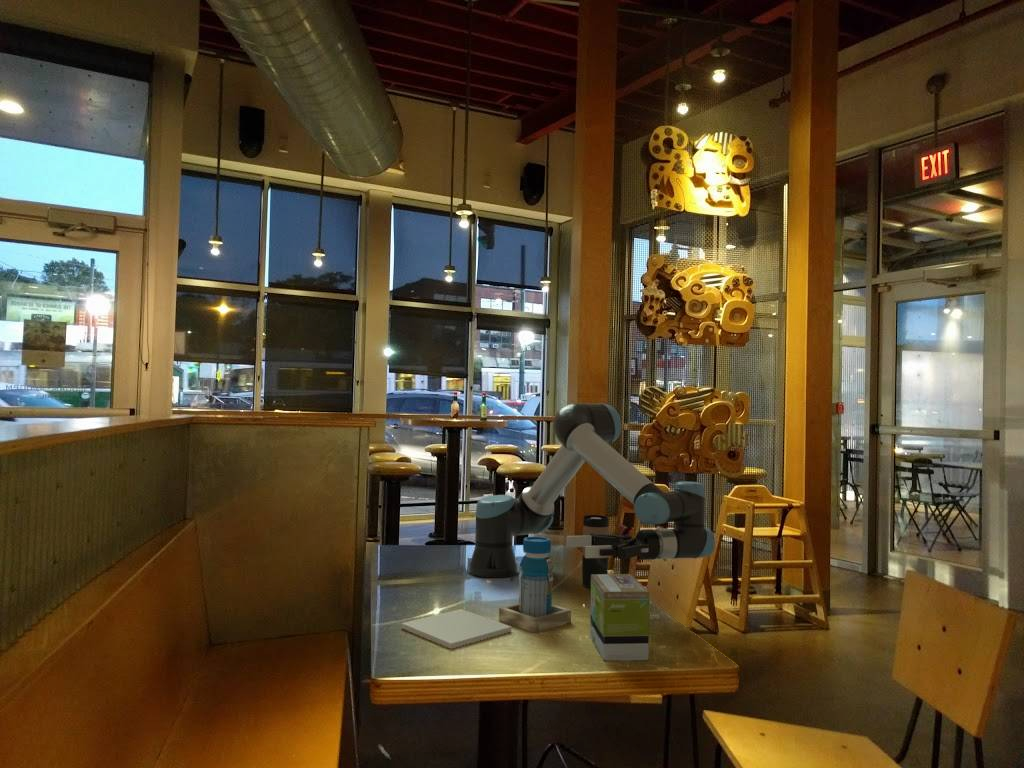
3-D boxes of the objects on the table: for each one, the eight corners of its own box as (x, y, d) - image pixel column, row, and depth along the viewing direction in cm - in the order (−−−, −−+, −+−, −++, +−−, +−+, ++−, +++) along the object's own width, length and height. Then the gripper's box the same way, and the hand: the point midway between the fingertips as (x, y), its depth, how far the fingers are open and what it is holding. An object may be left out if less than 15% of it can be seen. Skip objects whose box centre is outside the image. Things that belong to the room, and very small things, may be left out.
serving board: (401, 628, 165) (401, 623, 165) (460, 613, 177) (460, 609, 177) (451, 649, 152) (451, 643, 152) (511, 631, 164) (511, 626, 164)
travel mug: (607, 582, 213) (608, 515, 213) (608, 589, 205) (609, 519, 206) (581, 581, 213) (583, 514, 214) (581, 587, 206) (583, 518, 206)
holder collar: (498, 620, 173) (499, 607, 173) (534, 610, 182) (534, 599, 182) (535, 633, 164) (536, 619, 164) (570, 622, 173) (571, 610, 173)
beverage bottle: (528, 628, 167) (530, 543, 168) (511, 618, 175) (513, 536, 175) (558, 624, 171) (560, 540, 172) (541, 614, 178) (543, 534, 179)
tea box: (588, 637, 162) (589, 572, 162) (631, 637, 163) (633, 572, 163) (602, 661, 147) (604, 589, 147) (649, 661, 148) (651, 590, 148)
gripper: (678, 570, 168) (594, 573, 163) (634, 549, 193) (559, 552, 187) (678, 538, 169) (594, 540, 163) (634, 521, 193) (560, 523, 188)
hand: (575, 546), depth 175 cm, fingers open, 13 cm apart
